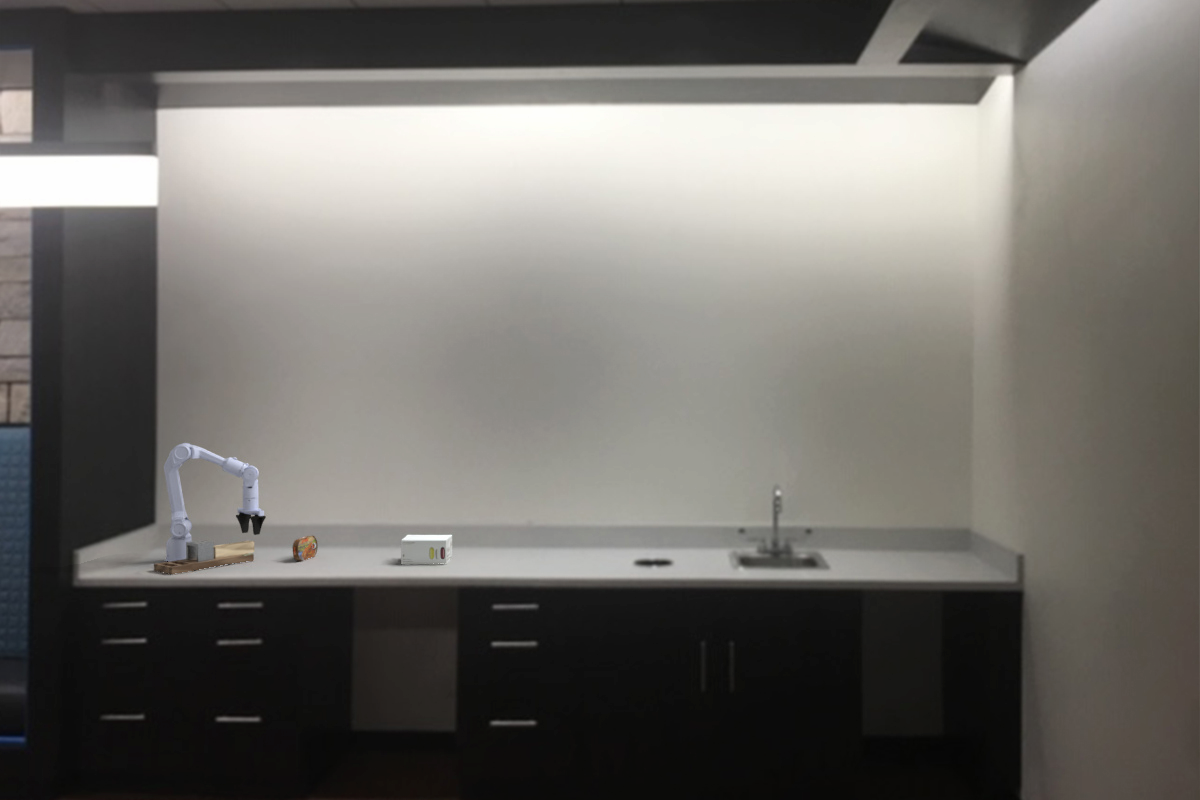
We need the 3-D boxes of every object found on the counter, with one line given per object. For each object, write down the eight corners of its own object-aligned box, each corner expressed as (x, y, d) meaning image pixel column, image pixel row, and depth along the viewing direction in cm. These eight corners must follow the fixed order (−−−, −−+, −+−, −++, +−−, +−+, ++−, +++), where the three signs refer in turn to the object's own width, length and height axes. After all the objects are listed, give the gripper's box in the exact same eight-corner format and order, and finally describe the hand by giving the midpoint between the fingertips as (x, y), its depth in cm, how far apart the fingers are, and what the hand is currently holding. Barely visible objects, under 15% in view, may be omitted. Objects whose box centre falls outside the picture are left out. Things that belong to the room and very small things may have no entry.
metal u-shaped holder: (186, 559, 353) (185, 542, 353) (201, 557, 358) (201, 539, 358) (198, 562, 348) (198, 544, 348) (213, 559, 353) (213, 541, 353)
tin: (298, 562, 360) (298, 540, 360) (291, 562, 361) (290, 539, 361) (318, 555, 375) (318, 533, 375) (311, 555, 376) (310, 533, 375)
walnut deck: (154, 570, 346) (154, 563, 346) (235, 557, 371) (235, 550, 371) (172, 574, 338) (172, 566, 338) (253, 561, 364) (253, 553, 364)
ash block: (209, 557, 358) (209, 546, 358) (248, 551, 371) (248, 540, 371) (215, 558, 356) (215, 547, 356) (254, 552, 369) (254, 541, 369)
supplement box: (400, 565, 354) (400, 539, 354) (407, 558, 368) (407, 534, 367) (447, 565, 354) (446, 539, 354) (452, 558, 367) (452, 533, 367)
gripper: (271, 498, 369) (271, 533, 369) (248, 495, 378) (249, 530, 378) (254, 500, 363) (254, 536, 363) (232, 497, 372) (232, 532, 372)
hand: (250, 533), depth 370 cm, fingers open, 7 cm apart
